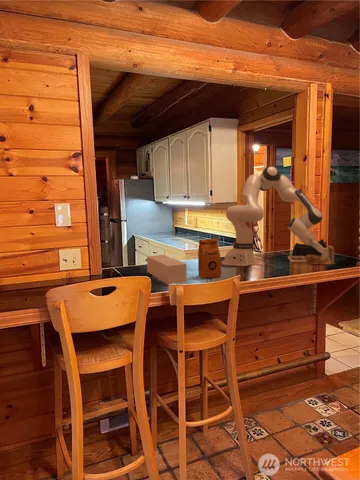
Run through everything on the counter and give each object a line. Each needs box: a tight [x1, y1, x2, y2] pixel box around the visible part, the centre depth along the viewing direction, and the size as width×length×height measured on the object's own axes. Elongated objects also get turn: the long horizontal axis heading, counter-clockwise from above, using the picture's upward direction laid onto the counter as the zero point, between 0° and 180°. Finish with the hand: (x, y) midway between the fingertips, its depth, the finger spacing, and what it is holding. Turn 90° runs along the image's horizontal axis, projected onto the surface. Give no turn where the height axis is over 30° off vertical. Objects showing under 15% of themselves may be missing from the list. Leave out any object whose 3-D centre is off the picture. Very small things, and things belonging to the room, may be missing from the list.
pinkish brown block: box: [146, 254, 188, 285], centre depth 187 cm, size 32×11×11 cm, turn 26°
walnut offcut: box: [305, 256, 318, 264], centre depth 213 cm, size 6×5×3 cm
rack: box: [307, 245, 335, 265], centre depth 212 cm, size 16×11×11 cm
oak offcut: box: [306, 255, 318, 259], centre depth 213 cm, size 5×4×2 cm
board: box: [320, 247, 329, 258], centre depth 212 cm, size 4×2×9 cm, turn 80°
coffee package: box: [197, 238, 222, 279], centre depth 186 cm, size 10×12×22 cm
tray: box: [287, 255, 307, 263], centre depth 221 cm, size 10×14×2 cm
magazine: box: [291, 239, 328, 257], centre depth 240 cm, size 17×3×30 cm
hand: (324, 253), depth 212 cm, fingers open, 8 cm apart
